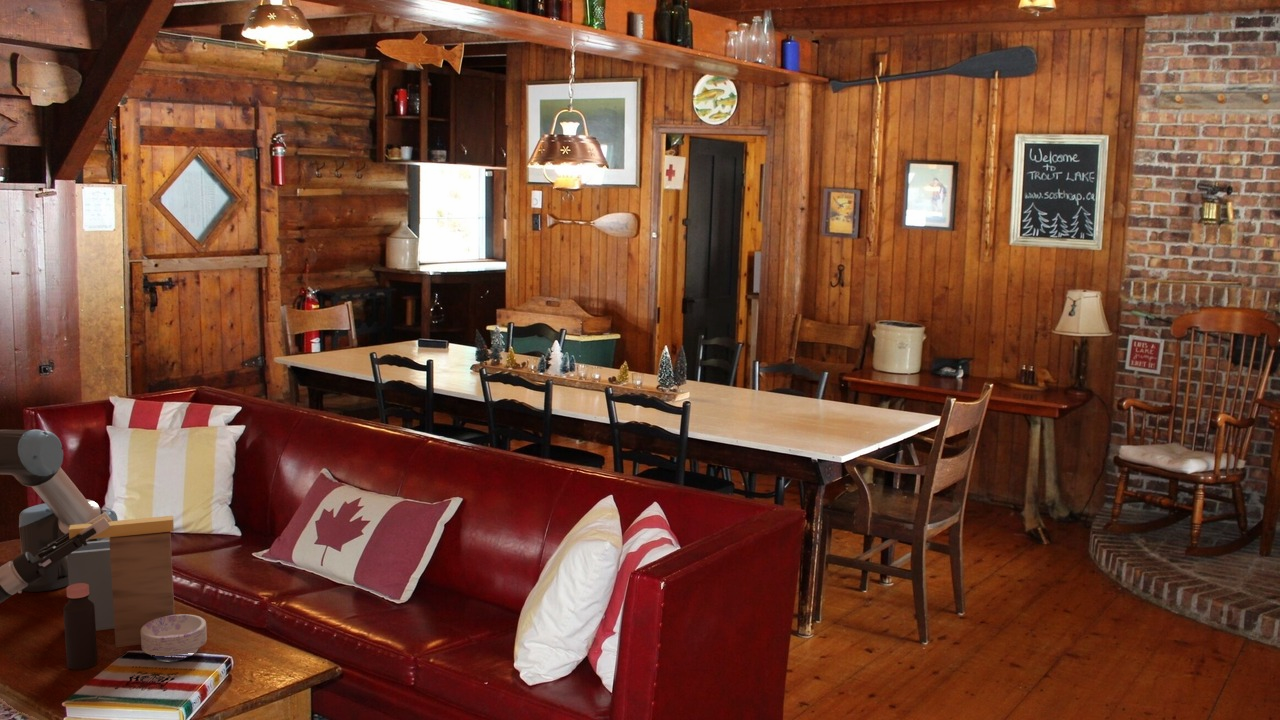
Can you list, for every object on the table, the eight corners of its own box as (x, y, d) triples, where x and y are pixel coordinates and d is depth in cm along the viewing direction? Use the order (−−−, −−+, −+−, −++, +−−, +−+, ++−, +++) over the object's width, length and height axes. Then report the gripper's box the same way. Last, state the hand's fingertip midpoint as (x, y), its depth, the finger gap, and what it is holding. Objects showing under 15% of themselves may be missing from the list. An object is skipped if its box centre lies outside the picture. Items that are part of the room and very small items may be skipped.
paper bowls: (170, 672, 283) (168, 641, 282) (128, 659, 290) (126, 628, 289) (220, 651, 296) (219, 621, 295) (179, 638, 303) (178, 609, 302)
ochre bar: (71, 536, 295) (70, 525, 295) (173, 526, 304) (173, 515, 303) (69, 541, 292) (68, 529, 291) (173, 531, 300) (172, 519, 300)
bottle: (102, 664, 287) (97, 586, 284) (73, 673, 282) (68, 593, 279) (91, 656, 291) (86, 579, 288) (62, 664, 286) (57, 586, 283)
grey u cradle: (74, 621, 314) (69, 543, 311) (139, 613, 320) (135, 537, 317) (72, 633, 306) (66, 553, 302) (138, 625, 312) (134, 547, 308)
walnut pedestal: (117, 635, 305) (111, 531, 300) (175, 628, 310) (170, 526, 305) (115, 647, 297) (109, 540, 293) (175, 640, 302) (169, 535, 298)
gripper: (34, 573, 299) (118, 521, 305) (26, 595, 284) (115, 540, 289) (15, 550, 297) (101, 498, 302) (6, 571, 281) (96, 516, 287)
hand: (107, 519), depth 296 cm, fingers closed on ochre bar, 4 cm apart
